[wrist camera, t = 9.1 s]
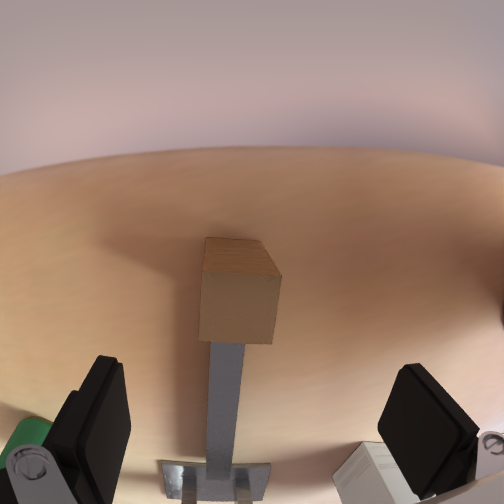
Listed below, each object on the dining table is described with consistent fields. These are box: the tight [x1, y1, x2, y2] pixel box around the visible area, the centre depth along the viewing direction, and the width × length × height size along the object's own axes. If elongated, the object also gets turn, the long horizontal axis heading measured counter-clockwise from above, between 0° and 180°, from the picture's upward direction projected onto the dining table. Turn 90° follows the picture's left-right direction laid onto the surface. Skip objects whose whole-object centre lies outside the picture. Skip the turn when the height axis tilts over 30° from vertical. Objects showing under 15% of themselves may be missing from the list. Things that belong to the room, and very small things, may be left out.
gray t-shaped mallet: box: [199, 237, 282, 481], centre depth 23 cm, size 4×24×8 cm, turn 174°
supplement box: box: [332, 442, 435, 504], centre depth 27 cm, size 7×7×13 cm
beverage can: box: [0, 417, 53, 469], centre depth 22 cm, size 8×8×12 cm
